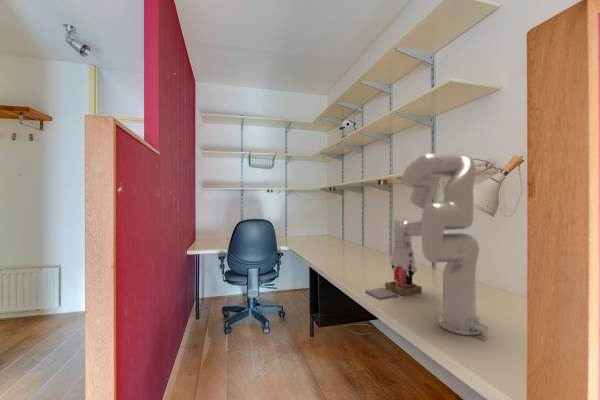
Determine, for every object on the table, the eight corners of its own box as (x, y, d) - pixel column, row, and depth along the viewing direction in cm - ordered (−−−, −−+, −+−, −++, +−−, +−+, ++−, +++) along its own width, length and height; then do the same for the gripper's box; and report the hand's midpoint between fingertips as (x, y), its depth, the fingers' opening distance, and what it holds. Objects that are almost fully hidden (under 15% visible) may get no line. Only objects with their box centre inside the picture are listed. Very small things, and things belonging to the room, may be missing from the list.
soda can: (401, 287, 133) (400, 263, 133) (414, 291, 127) (413, 266, 127) (392, 290, 129) (391, 265, 129) (405, 294, 123) (405, 268, 123)
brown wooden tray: (421, 292, 125) (421, 286, 125) (402, 296, 120) (402, 289, 120) (403, 285, 135) (403, 280, 135) (385, 288, 131) (385, 282, 131)
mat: (397, 296, 120) (397, 294, 120) (379, 299, 116) (379, 297, 116) (382, 290, 129) (382, 287, 129) (365, 292, 125) (365, 290, 125)
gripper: (423, 247, 121) (423, 286, 121) (395, 241, 137) (396, 276, 137) (410, 248, 118) (411, 288, 118) (384, 242, 134) (384, 278, 134)
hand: (403, 281), depth 128 cm, fingers closed on soda can, 7 cm apart
